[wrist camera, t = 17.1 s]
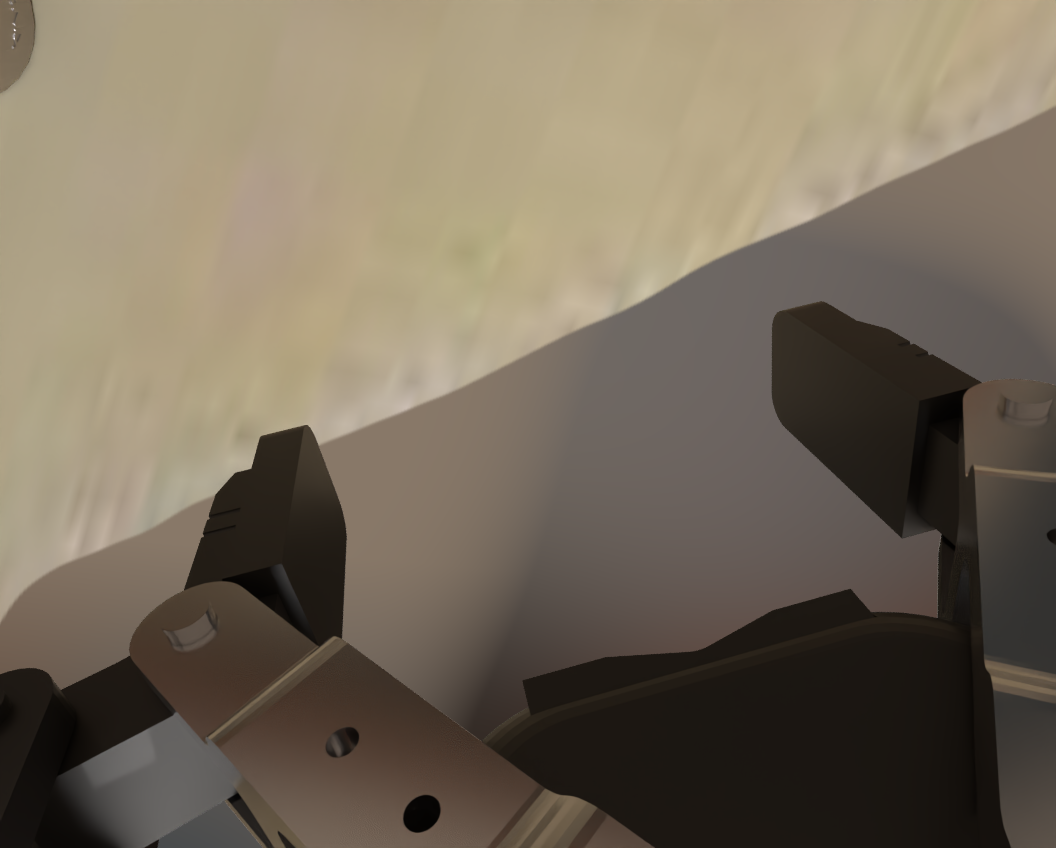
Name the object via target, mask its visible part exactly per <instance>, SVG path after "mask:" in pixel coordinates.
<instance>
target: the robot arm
mask: <svg viewBox="0 0 1056 848" xmlns="http://www.w3.org/2000/svg"><path fill="white" fill-rule="evenodd" d="M34 27H35V24H34V18H33V12H32V5H31V1H30V0H0V93H1V92H3V91H5V90H6V89H8V88H9V87H10V86H11V85H12V84H13V83H14V82H15V81H16V80H17V79H19V77H20V76H21V74H22V72H23V71H24V69H25V68H26V66H27V64H28V62H29V59H30V56H31V52H32V49H33V45H34ZM772 399H773V405H774V408H775V411H776V414H777V416H778V418H779V420H780V422H781V423H782V425H783V426H784V427H785V428H786V429H787V430H788V431H789V432H790V433H791V434H792V435H793V436H794V437H796V438H797V439H798V440H799V441H800V442H801V443H802V444H803V445H804V446H805V447H806V448H807V449H808V450H809V451H810V452H811V453H812V454H813V455H815V456H816V457H817V458H818V459H819V460H820V461H821V462H822V463H823V464H824V465H825V466H826V467H827V468H828V469H829V470H831V472H832V473H834V474H835V475H836V476H837V477H838V478H839V479H840V480H841V481H842V482H843V483H844V484H845V485H846V486H847V487H848V488H849V489H850V490H851V491H852V492H853V493H855V494H856V495H857V496H858V497H859V498H860V499H861V500H862V501H863V502H864V503H865V504H866V505H867V506H868V507H870V509H871V510H872V511H874V512H875V513H876V514H877V515H878V516H879V517H880V518H881V519H882V520H883V521H884V522H885V523H886V524H887V525H888V526H890V527H891V529H893V530H894V531H895V532H896V533H897V534H898V535H899V536H900V537H901V538H906V537H909V536H913V535H917V534H920V533H924V532H928V531H931V530H935V529H937V530H938V531H939V532H940V533H941V539H940V546H939V551H938V600H937V601H938V602H937V618H934V617H929V616H925V615H917V614H909V613H897V612H896V613H895V612H870V611H869V610H868V609H867V607H866V606H865V605H864V604H863V603H862V602H861V600H859V598H858V597H857V596H856V595H855V593H853V591H852V590H851V589H848V590H844V591H841V592H837V593H834V594H830V595H827V596H823V597H819V598H816V599H812V600H809V601H805V602H802V603H798V604H794V605H791V606H787V607H784V608H780V609H776V610H773V611H771V612H769V613H767V614H765V615H764V616H762V617H760V618H758V619H756V620H755V621H753V622H751V623H749V624H747V625H746V626H744V627H742V628H741V629H738V630H737V631H735V632H733V633H731V634H730V635H728V636H726V637H724V638H722V639H720V640H719V641H717V642H715V643H714V644H711V645H710V646H708V647H706V648H704V649H701V650H698V651H693V652H681V653H665V654H651V655H634V656H618V657H605V658H601V659H598V660H594V661H591V662H587V663H583V664H580V665H576V666H573V667H569V668H565V669H562V670H558V671H555V672H551V673H548V674H544V675H540V676H537V677H533V678H530V679H526V680H523V685H524V689H525V694H526V698H527V702H528V706H529V707H528V708H526V709H525V710H523V711H521V712H519V713H518V714H516V715H514V716H513V717H511V718H510V719H508V720H507V721H506V722H504V723H503V724H501V725H500V726H498V727H497V728H496V729H495V730H493V731H492V732H491V733H490V734H489V735H488V736H487V737H485V738H484V739H483V740H482V741H480V740H479V739H477V738H476V737H475V736H473V735H472V734H471V733H469V732H468V731H466V730H465V729H464V728H462V727H461V726H460V725H458V724H457V723H456V722H454V721H453V720H452V719H450V718H449V717H447V716H446V715H445V714H443V713H442V712H441V711H439V710H438V709H437V708H435V707H434V706H433V705H431V704H430V703H428V702H427V701H426V700H424V699H423V698H422V697H420V696H419V695H418V694H416V693H414V691H412V690H411V689H410V688H408V687H407V686H405V685H404V684H403V683H401V682H400V681H399V680H397V679H396V678H394V677H393V676H392V675H391V674H389V673H388V672H387V671H385V670H384V669H382V668H381V667H380V666H378V665H377V664H376V663H374V662H373V661H372V660H370V659H369V658H368V657H366V656H365V655H363V654H362V653H361V652H359V651H358V650H357V649H355V648H354V647H353V646H351V645H350V644H349V643H347V642H346V641H344V640H343V639H342V626H343V605H344V583H345V562H346V540H347V536H346V526H345V520H344V516H343V511H342V508H341V504H340V502H339V499H338V496H337V493H336V491H335V488H334V486H333V483H332V480H331V478H330V475H329V472H328V470H327V468H326V465H325V462H324V459H323V457H322V454H321V451H320V449H319V446H318V443H317V441H316V438H315V436H314V434H313V432H312V430H311V428H310V427H309V426H308V425H304V426H300V427H296V428H292V429H288V430H284V431H279V432H275V433H271V434H267V435H263V436H261V437H260V439H259V443H258V446H257V450H256V454H255V457H254V461H253V465H252V468H251V469H249V470H245V471H241V472H237V473H235V474H234V475H233V476H232V477H231V478H230V479H229V480H228V481H227V482H226V484H225V485H224V486H223V487H222V488H221V489H220V490H219V491H218V493H217V494H216V495H215V499H214V501H213V504H212V507H211V510H210V513H209V518H210V519H209V520H207V522H206V525H205V528H204V531H203V535H204V537H202V538H201V540H200V543H199V546H198V549H197V552H196V555H195V558H194V561H193V564H192V567H191V570H190V573H189V576H188V579H187V582H186V585H185V589H184V591H182V592H180V593H178V594H176V595H174V596H173V597H171V598H169V599H167V600H166V601H165V602H163V603H162V604H160V605H159V606H158V607H156V608H155V609H154V610H153V611H152V612H150V614H148V616H146V618H145V619H144V620H143V621H142V622H141V623H140V625H139V626H138V627H137V629H136V630H135V632H134V634H133V636H132V639H131V642H130V647H129V652H130V656H128V657H127V658H125V659H123V660H121V661H120V662H118V663H116V664H114V665H112V666H110V667H107V668H106V669H103V670H101V671H99V672H97V673H95V674H93V675H92V676H89V677H87V678H85V679H83V680H81V681H79V682H76V683H74V684H72V685H71V686H68V687H66V688H64V689H62V690H60V689H59V687H58V686H57V685H56V683H55V682H54V681H53V680H52V678H51V677H50V675H49V674H48V673H46V672H45V671H43V670H40V669H36V668H26V669H17V670H13V671H9V672H6V673H3V674H0V848H157V847H158V842H159V839H160V838H161V837H163V836H165V835H167V834H168V833H170V832H172V831H173V830H175V829H177V828H178V827H180V826H182V825H184V824H185V823H187V822H189V821H191V820H192V819H194V818H196V817H197V816H199V815H201V814H203V813H204V812H206V811H208V810H209V809H211V808H213V807H215V806H216V805H218V804H220V803H221V802H223V801H225V802H226V803H227V805H228V806H229V807H230V808H231V810H232V811H233V812H234V813H235V814H236V816H237V817H238V818H239V819H240V820H241V822H242V823H243V824H244V825H245V827H246V828H247V829H248V830H249V831H250V833H251V834H252V835H253V836H254V837H255V839H256V840H257V841H258V842H259V843H260V845H261V846H262V847H263V848H1056V385H1052V384H1049V383H1044V382H1040V381H1033V380H1023V379H1001V380H993V381H987V382H983V383H982V382H980V381H978V380H976V379H975V378H973V377H971V376H969V375H968V374H966V373H964V372H962V371H961V370H959V369H957V368H955V367H954V366H952V365H950V364H948V363H947V362H945V361H943V360H941V359H940V358H938V357H936V356H934V355H928V352H927V351H926V350H924V349H922V348H920V347H919V346H917V345H915V344H912V345H910V342H909V341H908V340H906V339H904V338H903V337H901V336H899V335H898V334H896V333H894V332H892V331H890V330H889V329H886V328H882V327H879V326H875V325H871V324H867V323H863V322H860V321H856V320H855V319H853V318H851V317H850V316H848V315H846V314H844V313H843V312H841V311H839V310H838V309H836V308H834V307H833V306H831V305H829V304H827V303H825V302H822V301H820V302H816V303H812V304H808V305H803V306H800V307H795V308H791V309H787V310H783V311H779V312H778V313H777V314H776V315H775V317H774V320H773V324H772Z"/></svg>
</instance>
